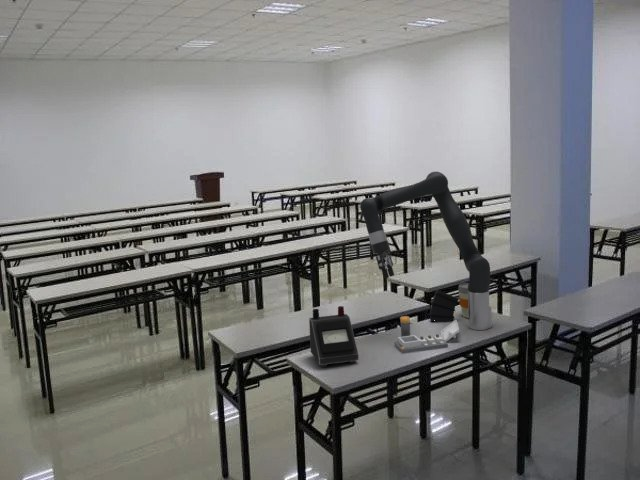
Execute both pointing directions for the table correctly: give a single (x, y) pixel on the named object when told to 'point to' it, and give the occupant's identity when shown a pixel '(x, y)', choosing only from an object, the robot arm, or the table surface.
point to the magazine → (442, 307)
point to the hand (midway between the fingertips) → (389, 277)
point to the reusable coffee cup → (464, 299)
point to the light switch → (450, 330)
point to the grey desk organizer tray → (419, 343)
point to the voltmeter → (332, 338)
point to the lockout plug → (405, 326)
